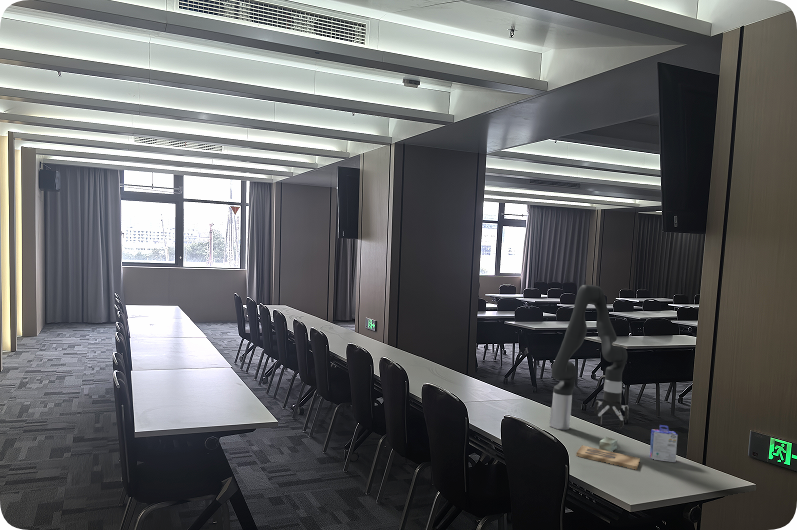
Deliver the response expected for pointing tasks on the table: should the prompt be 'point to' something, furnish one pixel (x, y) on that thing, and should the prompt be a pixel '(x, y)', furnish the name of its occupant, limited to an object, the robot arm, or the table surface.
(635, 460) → the tan wooden board
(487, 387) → the table surface
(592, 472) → the table surface
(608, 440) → the block
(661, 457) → the ink cartridge box
